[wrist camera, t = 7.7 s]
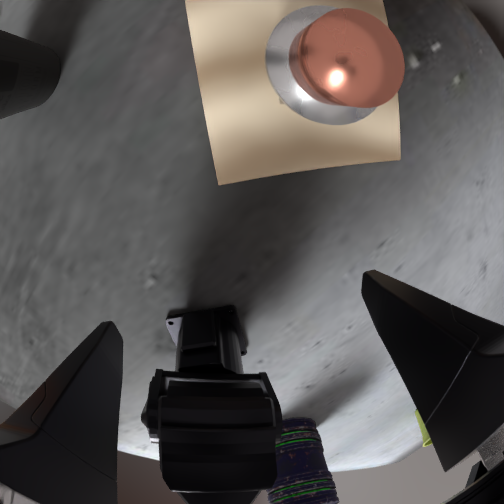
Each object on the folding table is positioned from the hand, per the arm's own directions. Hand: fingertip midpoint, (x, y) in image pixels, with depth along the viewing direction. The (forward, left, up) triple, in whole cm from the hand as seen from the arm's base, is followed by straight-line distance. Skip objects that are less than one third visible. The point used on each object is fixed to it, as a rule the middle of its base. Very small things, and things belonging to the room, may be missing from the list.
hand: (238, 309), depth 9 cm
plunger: (+8, -7, -11) cm, 15 cm away
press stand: (+8, -7, -12) cm, 16 cm away
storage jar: (-39, -2, -13) cm, 41 cm away
